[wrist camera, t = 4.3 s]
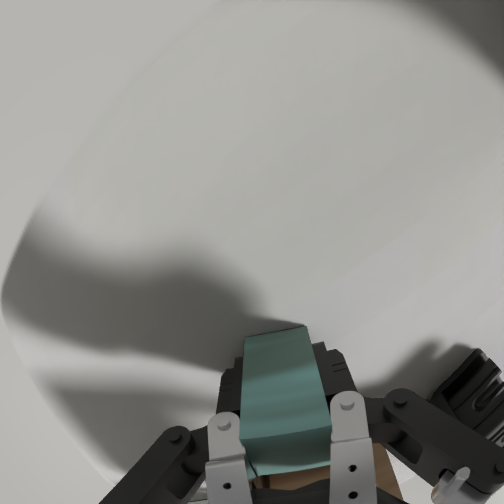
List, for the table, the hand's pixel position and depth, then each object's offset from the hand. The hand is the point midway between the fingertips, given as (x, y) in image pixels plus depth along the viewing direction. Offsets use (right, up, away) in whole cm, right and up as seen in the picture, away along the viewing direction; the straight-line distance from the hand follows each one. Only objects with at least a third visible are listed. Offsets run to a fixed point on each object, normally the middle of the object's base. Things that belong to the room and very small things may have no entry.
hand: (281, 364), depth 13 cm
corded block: (+1, -6, +3) cm, 7 cm away
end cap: (+15, -6, +3) cm, 17 cm away
